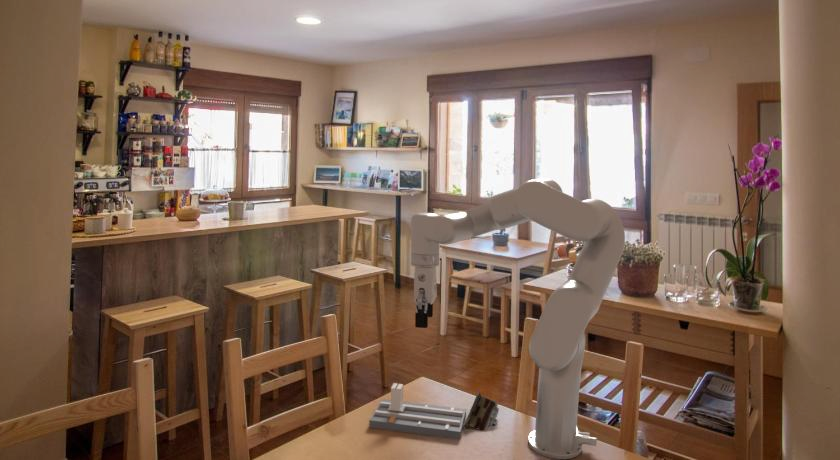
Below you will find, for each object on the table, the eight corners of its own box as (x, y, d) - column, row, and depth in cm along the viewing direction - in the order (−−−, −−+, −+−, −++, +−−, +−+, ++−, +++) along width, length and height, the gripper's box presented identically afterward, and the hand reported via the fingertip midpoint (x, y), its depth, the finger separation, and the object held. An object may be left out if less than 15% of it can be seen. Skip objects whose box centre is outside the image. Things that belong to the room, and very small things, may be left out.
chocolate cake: (488, 439, 133) (506, 394, 139) (462, 426, 134) (480, 383, 140) (485, 447, 141) (502, 405, 147) (460, 435, 142) (478, 393, 148)
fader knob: (405, 408, 141) (406, 384, 140) (402, 414, 138) (403, 389, 137) (390, 406, 141) (391, 382, 140) (387, 412, 139) (388, 387, 138)
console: (465, 416, 142) (466, 406, 142) (460, 439, 131) (460, 428, 130) (381, 406, 147) (382, 396, 146) (369, 427, 135) (369, 417, 135)
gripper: (434, 266, 134) (433, 332, 136) (442, 254, 150) (441, 313, 153) (405, 265, 135) (404, 331, 137) (416, 253, 152) (415, 312, 154)
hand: (424, 321), depth 145 cm, fingers open, 9 cm apart
